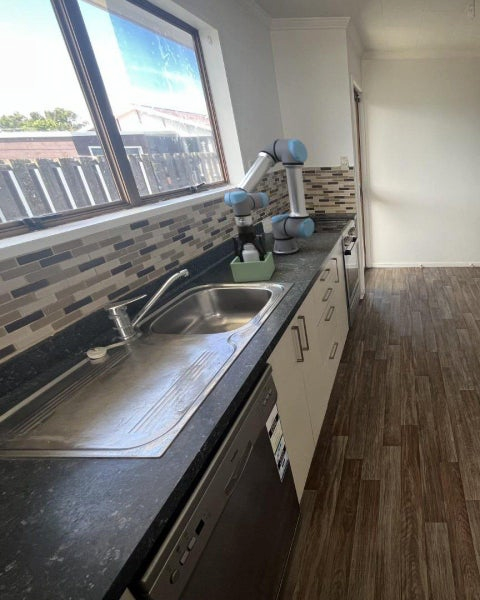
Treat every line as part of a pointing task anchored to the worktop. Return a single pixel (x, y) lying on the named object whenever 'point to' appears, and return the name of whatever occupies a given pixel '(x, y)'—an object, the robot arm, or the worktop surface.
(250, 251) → the pill bottle
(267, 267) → the bin
